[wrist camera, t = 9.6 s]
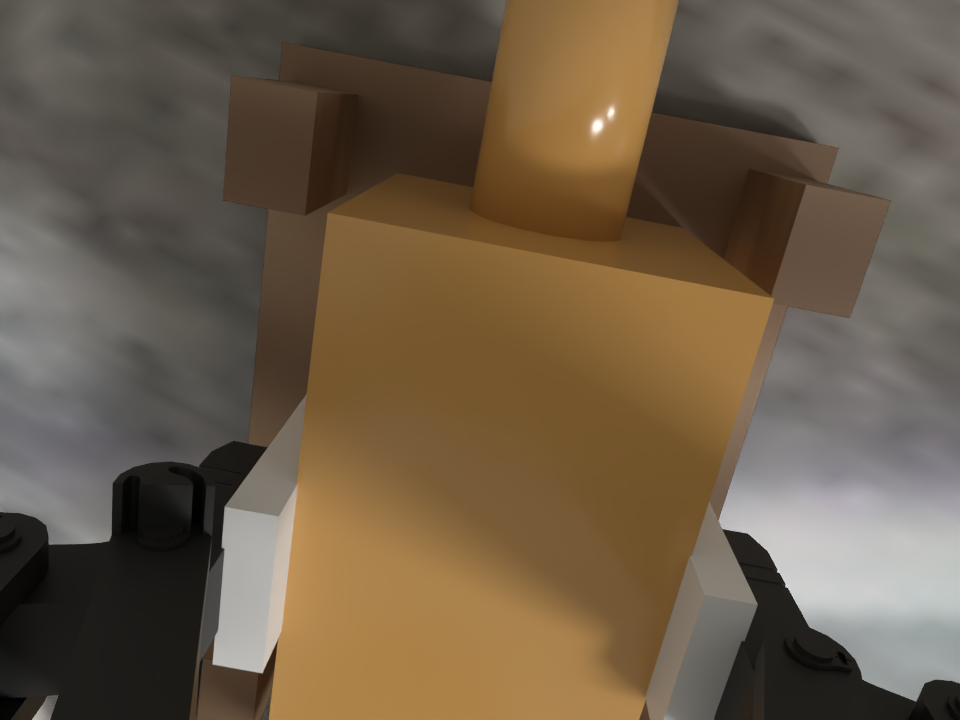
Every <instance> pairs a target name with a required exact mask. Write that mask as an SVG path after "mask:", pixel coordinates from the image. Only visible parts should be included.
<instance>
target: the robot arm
mask: <svg viewBox="0 0 960 720" xmlns="http://www.w3.org/2000/svg"><path fill="white" fill-rule="evenodd" d="M306 395H307V394H306ZM305 404H306V396H305V397H304V399H303V400H302V401H301V403H300V404H299V405H298V407H297V408H296V410H295V411H294V412H293V414H292V415H291V416H290V418H289V419H288V420H287V422H286V423H285V425H284V426H283V427H282V429H281V430H280V431H279V433H278V434H277V436H276V437H275V438H274V440H273V441H272V442H271V444H270V445H269V447H263V446H258V445H252V444H247V443H241V442H236V441H233V442H231V443H229V444H226V445H224V446H222V447H220V448H218V449H216V450H214V451H212V452H211V453H210V454H209V455H208V456H207V457H206V459H205V460H204V461H203V462H202V463H201V464H200V466H199V468H198V467H195V466H193V465H190V464H184V463H176V462H158V463H149V464H145V465H141V466H137V467H133V468H131V469H129V470H127V471H126V472H124V473H122V474H120V475H119V476H118V478H117V479H116V480H115V481H114V483H113V498H112V536H111V539H110V541H108V542H103V543H93V544H66V545H48V532H47V528H46V525H45V524H43V523H42V522H41V521H39V520H38V519H37V518H35V517H31V516H27V515H24V514H20V513H4V512H0V720H32V719H33V717H34V716H35V714H36V713H37V711H38V710H39V709H40V707H41V706H42V704H43V703H44V701H45V699H46V696H49V695H59V696H58V699H57V702H56V705H55V708H54V711H53V714H52V717H51V720H197V717H198V708H199V699H200V690H201V681H202V667H203V656H204V654H205V653H206V651H207V649H208V647H209V646H210V644H211V642H212V640H213V639H214V637H215V639H214V652H213V665H219V666H224V667H230V668H235V669H241V670H247V671H252V672H258V673H263V671H264V669H265V667H266V664H267V662H268V660H269V658H270V655H271V653H272V651H273V649H274V647H275V644H276V642H277V640H278V638H279V635H280V633H281V631H282V622H283V613H284V604H285V595H286V586H287V578H288V569H289V560H290V551H291V542H292V533H293V524H294V515H295V507H296V498H297V489H298V483H296V481H297V473H298V464H299V456H300V447H301V438H302V430H303V421H304V413H305ZM645 699H646V704H647V708H648V713H649V718H650V720H960V684H959V683H956V682H953V681H945V680H933V681H930V682H927V683H925V684H924V686H923V688H922V691H921V693H920V695H919V697H918V699H917V701H916V702H915V701H913V700H910V699H908V698H905V697H903V696H900V695H897V694H895V693H892V692H890V691H887V690H885V689H882V688H879V687H877V686H875V685H872V684H870V683H868V682H866V681H864V680H862V676H861V671H860V669H859V667H858V665H857V662H856V660H855V659H854V658H853V657H852V656H851V655H850V653H849V652H848V651H847V650H846V649H845V648H844V647H843V646H841V645H840V644H838V643H837V642H836V641H834V640H833V639H831V638H830V637H828V636H827V635H825V634H822V633H820V632H818V631H816V630H814V629H811V628H809V626H808V624H807V622H806V621H805V619H804V617H803V615H802V613H801V611H800V610H799V608H798V606H797V604H796V602H795V601H794V599H793V597H792V595H791V593H790V591H789V590H788V588H785V582H784V581H783V579H782V577H781V575H780V573H777V568H776V566H775V564H774V562H773V561H772V559H771V557H770V555H769V553H768V552H767V551H766V550H765V549H764V548H763V547H762V546H761V545H760V544H759V543H758V542H756V541H755V540H754V539H753V538H752V537H751V536H750V535H749V534H746V533H740V532H735V531H729V530H724V529H722V528H721V526H720V523H719V521H718V519H717V517H716V515H715V513H714V511H713V509H712V507H711V504H710V502H709V504H708V507H707V510H706V513H705V517H704V520H703V523H702V526H701V529H700V532H699V535H698V538H697V541H696V545H695V548H694V551H693V554H692V556H690V557H689V560H688V563H687V567H686V570H685V573H684V576H683V579H682V582H681V586H680V589H679V592H678V595H677V598H676V601H675V605H674V608H673V611H672V614H671V617H670V620H669V624H668V627H667V630H666V633H665V636H664V639H663V643H662V646H661V649H660V652H659V655H658V659H657V662H656V665H655V668H654V671H653V674H652V678H651V681H650V684H649V687H648V690H647V693H646V697H645Z"/></svg>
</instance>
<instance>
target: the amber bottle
mask: <svg viewBox="0 0 960 720" xmlns="http://www.w3.org/2000/svg"><path fill="white" fill-rule="evenodd" d="M678 4H679V0H506V4H505V10H504V16H503V21H502V27H501V33H500V38H499V44H498V50H497V55H496V61H495V66H494V72H493V78H492V83H491V89H490V95H489V100H488V106H487V112H486V117H485V123H484V128H483V134H482V140H481V145H480V151H479V157H478V162H477V168H476V174H475V179H474V185H473V187H468V186H463V185H458V184H453V183H448V182H443V181H437V180H432V179H427V178H422V177H417V176H412V175H406V174H401V173H397V174H395V175H393V176H391V177H390V178H388V179H386V180H384V181H383V182H381V183H379V184H377V185H376V186H374V187H372V188H370V189H369V190H367V191H365V192H363V193H362V194H360V195H358V196H356V197H354V198H353V199H351V200H349V201H347V202H346V203H344V204H342V205H340V206H339V207H337V208H335V209H333V210H332V211H330V212H328V215H327V224H326V232H325V241H324V249H323V258H322V267H321V275H320V284H319V292H318V301H317V309H316V318H315V327H314V335H313V344H312V352H311V361H310V370H309V378H308V387H307V395H306V404H305V413H304V421H303V430H302V438H301V447H300V456H299V464H298V473H297V481H296V483H298V489H297V498H296V507H295V515H294V524H293V533H292V542H291V551H290V560H289V569H288V578H287V586H286V595H285V604H284V613H283V622H282V631H281V633H280V635H279V638H278V645H277V653H276V662H275V670H274V679H273V688H272V696H271V705H270V713H269V720H639V719H640V716H641V713H642V709H643V706H644V703H645V700H646V699H645V697H646V693H647V690H648V687H649V684H650V681H651V678H652V674H653V671H654V668H655V665H656V662H657V659H658V655H659V652H660V649H661V646H662V643H663V639H664V636H665V633H666V630H667V627H668V624H669V620H670V617H671V614H672V611H673V608H674V605H675V601H676V598H677V595H678V592H679V589H680V586H681V582H682V579H683V576H684V573H685V570H686V567H687V563H688V560H689V557H690V556H692V554H693V551H694V548H695V545H696V541H697V538H698V535H699V532H700V529H701V526H702V523H703V520H704V517H705V513H706V510H707V507H708V504H709V501H710V498H711V495H712V492H713V489H714V485H715V482H716V479H717V476H718V473H719V470H720V467H721V464H722V461H723V457H724V454H725V451H726V448H727V445H728V442H729V439H730V436H731V433H732V429H733V426H734V423H735V420H736V417H737V414H738V411H739V408H740V405H741V401H742V398H743V395H744V392H745V389H746V386H747V383H748V380H749V377H750V373H751V370H752V367H753V364H754V361H755V358H756V355H757V352H758V349H759V345H760V342H761V339H762V336H763V333H764V330H765V327H766V324H767V321H768V317H769V314H770V311H771V308H772V305H773V302H774V298H773V297H772V296H770V295H769V294H768V293H767V292H765V291H764V290H763V289H761V288H760V287H759V286H757V285H756V284H755V283H754V282H752V281H751V280H750V279H748V278H747V277H746V276H744V275H743V274H742V273H741V272H739V271H738V270H737V269H735V268H734V267H733V266H732V265H730V264H729V263H728V262H726V261H725V260H724V259H722V258H721V257H720V256H719V255H717V254H716V253H715V252H713V251H712V250H711V249H709V248H708V247H707V246H706V245H704V244H703V243H702V242H700V241H699V240H698V239H696V238H695V237H694V236H693V235H691V234H690V233H689V232H687V231H686V230H685V229H684V228H681V227H676V226H670V225H665V224H660V223H655V222H650V221H644V220H639V219H634V218H629V217H626V215H627V211H628V207H629V203H630V199H631V195H632V191H633V187H634V183H635V179H636V175H637V171H638V166H639V162H640V158H641V154H642V150H643V146H644V142H645V138H646V134H647V130H648V126H649V122H650V118H651V114H652V109H653V105H654V101H655V97H656V93H657V89H658V85H659V81H660V77H661V73H662V69H663V65H664V61H665V57H666V53H667V48H668V44H669V40H670V36H671V32H672V28H673V24H674V20H675V16H676V12H677V8H678Z"/></svg>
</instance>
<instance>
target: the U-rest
mask: <svg viewBox="0 0 960 720" xmlns="http://www.w3.org/2000/svg"><path fill="white" fill-rule="evenodd" d="M491 83H492V82H490V81H484V80H479V79H474V78H469V77H463V76H458V75H453V74H447V73H442V72H437V71H432V70H426V69H421V68H416V67H411V66H405V65H400V64H395V63H390V62H384V61H379V60H374V59H368V58H363V57H358V56H353V55H347V54H342V53H337V52H332V51H326V50H321V49H316V48H310V47H305V46H300V45H295V44H289V43H284V42H283V43H282V54H281V66H280V78H279V80H269V79H259V78H248V77H237V76H231V90H230V105H229V120H228V136H227V151H226V166H225V181H224V196H223V201H228V202H233V203H239V204H244V205H249V206H255V207H260V208H265V209H268V217H267V229H266V241H265V252H264V264H263V276H262V287H261V299H260V310H259V322H258V334H257V345H256V357H255V369H254V380H253V392H252V404H251V415H250V427H249V438H248V444H252V445H258V446H263V447H269V445H270V444H271V442H272V441H273V440H274V438H275V437H276V436H277V434H278V433H279V431H280V430H281V429H282V427H283V426H284V425H285V423H286V422H287V420H288V419H289V418H290V416H291V415H292V414H293V412H294V411H295V410H296V408H297V407H298V405H299V404H300V403H301V401H302V400H303V399H304V397H305V396H306V394H307V387H308V378H309V370H310V361H311V352H312V344H313V335H314V327H315V318H316V309H317V301H318V292H319V284H320V275H321V267H322V258H323V249H324V241H325V232H326V224H327V215H328V212H330V211H332V210H333V209H335V208H337V207H339V206H340V205H342V204H344V203H346V202H347V201H349V200H351V199H353V198H354V197H356V196H358V195H360V194H362V193H363V192H365V191H367V190H369V189H370V188H372V187H374V186H376V185H377V184H379V183H381V182H383V181H384V180H386V179H388V178H390V177H391V176H393V175H395V174H397V173H401V174H406V175H412V176H417V177H422V178H427V179H432V180H437V181H443V182H448V183H453V184H458V185H463V186H468V187H473V185H474V179H475V174H476V168H477V162H478V157H479V151H480V145H481V140H482V134H483V128H484V123H485V117H486V112H487V106H488V100H489V95H490V89H491ZM838 149H839V148H837V147H832V146H827V145H822V144H816V143H811V142H806V141H800V140H795V139H790V138H785V137H779V136H774V135H769V134H764V133H758V132H753V131H748V130H743V129H737V128H732V127H727V126H721V125H716V124H711V123H706V122H700V121H695V120H690V119H685V118H679V117H674V116H669V115H663V114H658V113H653V112H652V114H651V118H650V122H649V126H648V130H647V134H646V138H645V142H644V146H643V150H642V154H641V158H640V162H639V166H638V171H637V175H636V179H635V183H634V187H633V191H632V195H631V199H630V203H629V207H628V211H627V215H626V217H629V218H634V219H639V220H644V221H650V222H655V223H660V224H665V225H670V226H676V227H681V228H684V229H685V230H686V231H687V232H689V233H690V234H691V235H693V236H694V237H695V238H696V239H698V240H699V241H700V242H702V243H703V244H704V245H706V246H707V247H708V248H709V249H711V250H712V251H713V252H715V253H716V254H717V255H719V256H720V257H721V258H722V259H724V260H725V261H726V262H728V263H729V264H730V265H732V266H733V267H734V268H735V269H737V270H738V271H739V272H741V273H742V274H743V275H744V276H746V277H747V278H748V279H750V280H751V281H752V282H754V283H755V284H756V285H757V286H759V287H760V288H761V289H763V290H764V291H765V292H767V293H768V294H769V295H770V296H772V297H773V298H774V302H773V305H772V308H771V311H770V314H769V317H768V321H767V324H766V327H765V330H764V333H763V336H762V339H761V342H760V345H759V349H758V352H757V355H756V358H755V361H754V364H753V367H752V370H751V373H750V377H749V380H748V383H747V386H746V389H745V392H744V395H743V398H742V401H741V405H740V408H739V411H738V414H737V417H736V420H735V423H734V426H733V429H732V433H731V436H730V439H729V442H728V445H727V448H726V451H725V454H724V457H723V461H722V464H721V467H720V470H719V473H718V476H717V479H716V482H715V485H714V489H713V492H712V495H711V498H710V501H709V502H710V504H711V507H712V509H713V511H714V513H715V515H716V517H717V519H718V520H719V517H720V514H721V511H722V507H723V504H724V501H725V498H726V495H727V492H728V489H729V486H730V483H731V480H732V477H733V473H734V470H735V467H736V464H737V461H738V458H739V455H740V452H741V449H742V446H743V443H744V439H745V436H746V433H747V430H748V427H749V424H750V421H751V418H752V415H753V412H754V409H755V405H756V402H757V399H758V396H759V393H760V390H761V387H762V384H763V381H764V378H765V375H766V371H767V368H768V365H769V362H770V359H771V356H772V353H773V350H774V347H775V344H776V340H777V337H778V334H779V331H780V328H781V325H782V322H783V319H784V316H785V313H786V310H787V306H788V307H793V308H798V309H804V310H809V311H814V312H820V313H825V314H830V315H836V316H841V317H846V318H850V316H851V313H852V310H853V307H854V304H855V302H856V299H857V296H858V293H859V290H860V287H861V285H862V282H863V279H864V276H865V273H866V270H867V268H868V265H869V262H870V259H871V256H872V253H873V251H874V248H875V245H876V242H877V239H878V237H879V234H880V231H881V228H882V225H883V222H884V220H885V217H886V214H887V211H888V208H889V205H890V203H891V201H890V200H886V199H882V198H879V197H875V196H871V195H867V194H863V193H860V192H856V191H852V190H848V189H845V188H841V187H837V186H833V185H829V184H827V183H828V180H829V177H830V174H831V170H832V167H833V164H834V161H835V158H836V155H837V152H838ZM214 639H215V637H214ZM214 639H213V640H212V642H211V644H210V646H209V647H208V649H207V651H206V653H205V654H204V656H203V667H202V681H201V690H200V699H199V708H198V717H197V720H261V718H262V715H263V713H264V710H265V708H266V706H267V703H268V701H269V699H270V696H271V694H272V688H273V679H274V670H275V662H276V653H277V645H278V640H277V642H276V644H275V647H274V649H273V651H272V653H271V655H270V658H269V660H268V662H267V664H266V667H265V669H264V671H263V673H258V672H252V671H247V670H241V669H235V668H230V667H224V666H219V665H213V652H214ZM639 720H650V718H649V713H648V708H647V704H646V700H645V703H644V706H643V709H642V713H641V716H640V719H639Z"/></svg>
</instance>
